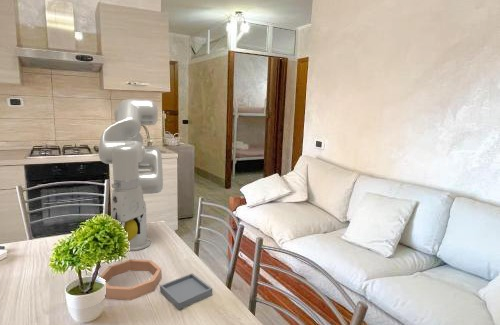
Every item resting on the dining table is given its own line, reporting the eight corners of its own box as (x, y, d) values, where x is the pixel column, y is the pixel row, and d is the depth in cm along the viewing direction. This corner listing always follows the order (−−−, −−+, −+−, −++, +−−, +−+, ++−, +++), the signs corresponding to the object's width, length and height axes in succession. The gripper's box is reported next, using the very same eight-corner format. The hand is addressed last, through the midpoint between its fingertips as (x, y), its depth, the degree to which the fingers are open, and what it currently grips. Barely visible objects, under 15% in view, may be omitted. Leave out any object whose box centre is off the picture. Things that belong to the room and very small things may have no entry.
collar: (93, 280, 110) (92, 271, 110) (145, 263, 123) (144, 254, 122) (113, 306, 97) (112, 296, 96) (169, 284, 109) (169, 275, 109)
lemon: (132, 245, 104) (131, 221, 102) (116, 243, 105) (115, 220, 103) (141, 238, 109) (140, 215, 108) (126, 236, 110) (125, 213, 109)
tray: (160, 291, 105) (160, 285, 105) (192, 278, 113) (192, 273, 113) (179, 310, 97) (179, 303, 96) (212, 294, 104) (212, 288, 104)
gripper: (113, 192, 94) (116, 250, 98) (154, 179, 109) (156, 229, 113) (95, 188, 97) (98, 244, 101) (137, 176, 112) (139, 225, 116)
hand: (129, 236), depth 107 cm, fingers closed on lemon, 5 cm apart
